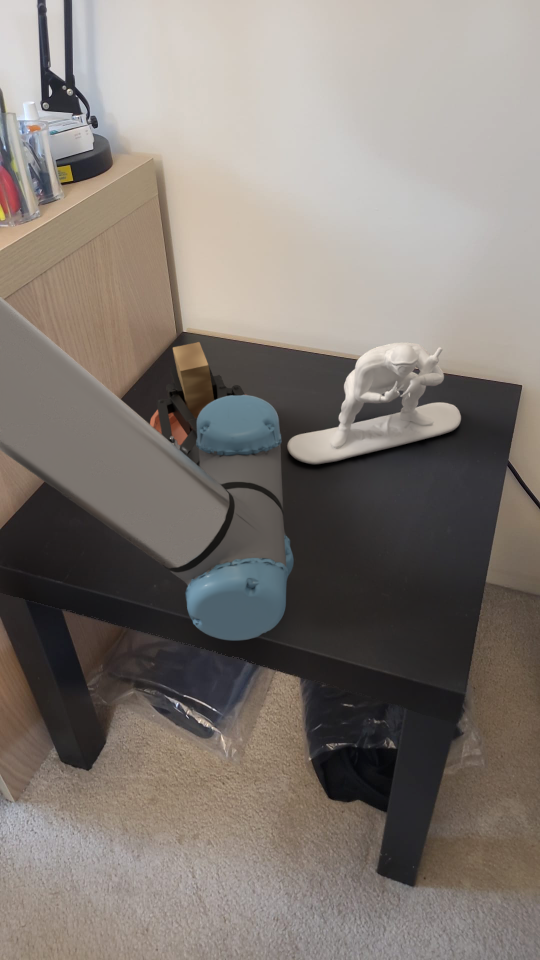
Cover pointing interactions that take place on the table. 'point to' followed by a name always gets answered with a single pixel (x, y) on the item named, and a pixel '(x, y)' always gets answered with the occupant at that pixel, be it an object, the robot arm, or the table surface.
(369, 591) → the table surface
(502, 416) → the table surface
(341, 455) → the figurine
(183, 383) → the wooden block
